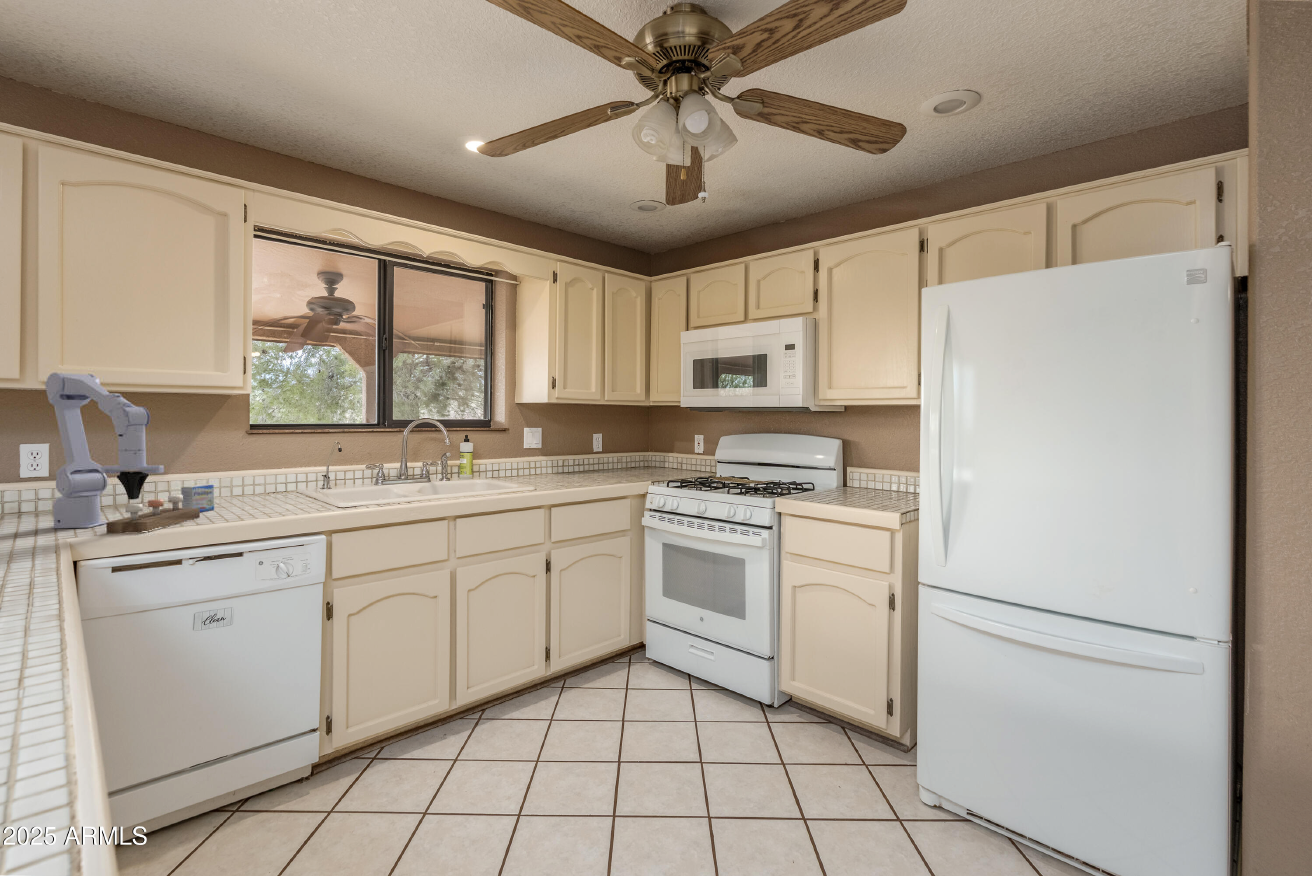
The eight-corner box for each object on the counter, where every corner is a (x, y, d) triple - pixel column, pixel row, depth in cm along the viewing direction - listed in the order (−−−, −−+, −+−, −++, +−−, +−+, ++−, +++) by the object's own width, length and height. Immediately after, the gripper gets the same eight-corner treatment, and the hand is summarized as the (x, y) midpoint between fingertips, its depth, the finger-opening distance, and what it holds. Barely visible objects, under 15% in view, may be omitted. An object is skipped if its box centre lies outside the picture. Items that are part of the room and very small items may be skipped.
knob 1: (122, 522, 167) (122, 506, 167) (131, 519, 171) (131, 504, 171) (137, 522, 168) (136, 505, 168) (146, 519, 171) (145, 503, 171)
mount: (106, 533, 166) (106, 522, 166) (164, 517, 190) (164, 508, 189) (147, 532, 167) (146, 521, 167) (199, 517, 191) (199, 507, 191)
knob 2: (165, 511, 185) (165, 496, 185) (173, 509, 189) (172, 495, 189) (178, 511, 186) (178, 496, 185) (185, 509, 189) (185, 494, 189)
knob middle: (145, 516, 176) (144, 501, 176) (153, 514, 180) (153, 499, 180) (158, 516, 177) (158, 501, 177) (166, 514, 180) (166, 499, 180)
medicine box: (192, 513, 198) (191, 487, 197) (181, 513, 198) (180, 486, 198) (214, 509, 205) (214, 484, 205) (203, 509, 206) (203, 483, 206)
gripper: (91, 451, 164) (93, 501, 164) (151, 451, 166) (152, 500, 166) (111, 449, 171) (112, 497, 171) (168, 449, 173) (169, 497, 173)
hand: (133, 499), depth 169 cm, fingers closed
